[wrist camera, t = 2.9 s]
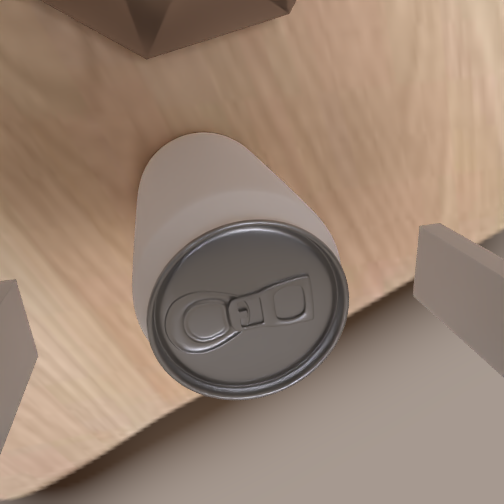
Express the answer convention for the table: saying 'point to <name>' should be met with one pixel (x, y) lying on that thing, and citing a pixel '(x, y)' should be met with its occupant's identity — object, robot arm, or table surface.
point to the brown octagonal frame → (169, 20)
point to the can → (232, 272)
